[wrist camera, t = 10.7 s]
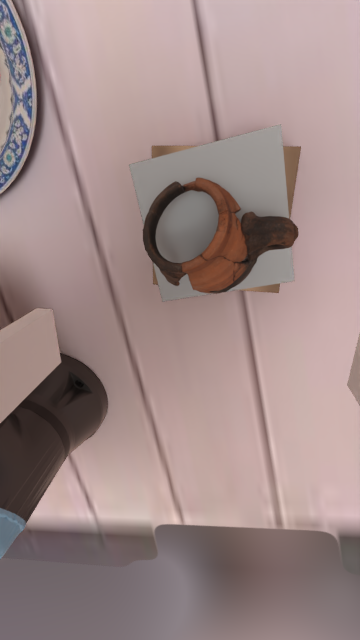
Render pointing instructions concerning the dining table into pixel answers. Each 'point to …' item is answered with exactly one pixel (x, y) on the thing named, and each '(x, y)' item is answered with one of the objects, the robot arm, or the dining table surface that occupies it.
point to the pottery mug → (219, 240)
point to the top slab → (200, 209)
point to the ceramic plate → (15, 95)
